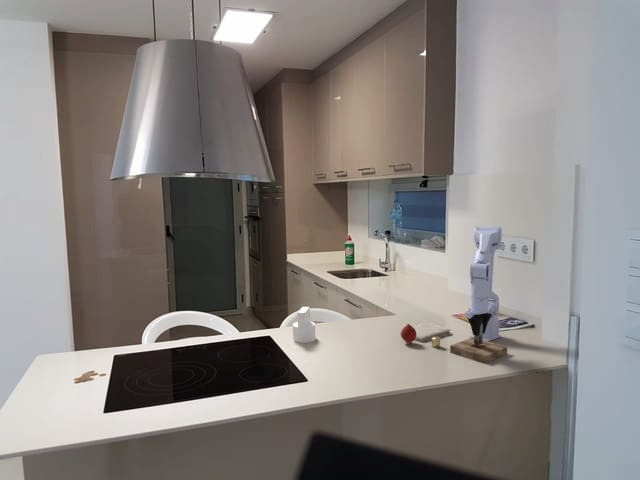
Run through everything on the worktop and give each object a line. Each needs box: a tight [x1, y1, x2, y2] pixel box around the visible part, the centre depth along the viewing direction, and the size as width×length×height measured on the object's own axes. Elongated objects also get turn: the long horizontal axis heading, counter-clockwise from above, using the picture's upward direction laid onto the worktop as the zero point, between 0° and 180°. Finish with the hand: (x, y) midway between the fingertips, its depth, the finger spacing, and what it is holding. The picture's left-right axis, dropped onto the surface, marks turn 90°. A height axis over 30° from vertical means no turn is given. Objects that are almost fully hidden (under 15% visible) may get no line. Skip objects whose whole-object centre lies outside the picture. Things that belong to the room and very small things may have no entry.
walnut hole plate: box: [449, 337, 508, 364], centre depth 160 cm, size 14×14×2 cm
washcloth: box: [411, 322, 451, 343], centre depth 182 cm, size 12×18×3 cm, turn 125°
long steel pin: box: [474, 321, 483, 344], centre depth 160 cm, size 3×3×8 cm
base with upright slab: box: [292, 306, 316, 344], centre depth 179 cm, size 9×9×12 cm
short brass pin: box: [431, 337, 441, 349], centre depth 168 cm, size 3×3×4 cm
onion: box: [400, 322, 416, 345], centre depth 171 cm, size 6×6×8 cm
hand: (478, 334), depth 160 cm, fingers closed on long steel pin, 3 cm apart
